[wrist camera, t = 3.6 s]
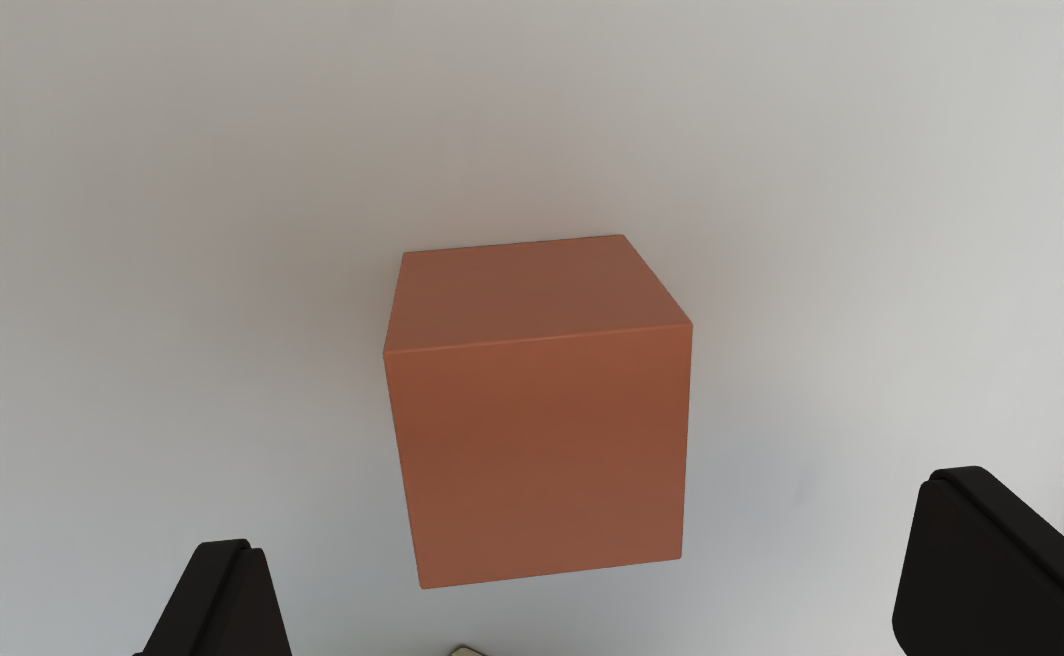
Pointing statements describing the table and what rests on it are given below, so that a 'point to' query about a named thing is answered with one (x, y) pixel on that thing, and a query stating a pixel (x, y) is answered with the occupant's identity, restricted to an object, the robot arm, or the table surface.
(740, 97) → the table surface
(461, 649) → the toy refrigerator
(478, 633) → the table surface
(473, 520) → the block
